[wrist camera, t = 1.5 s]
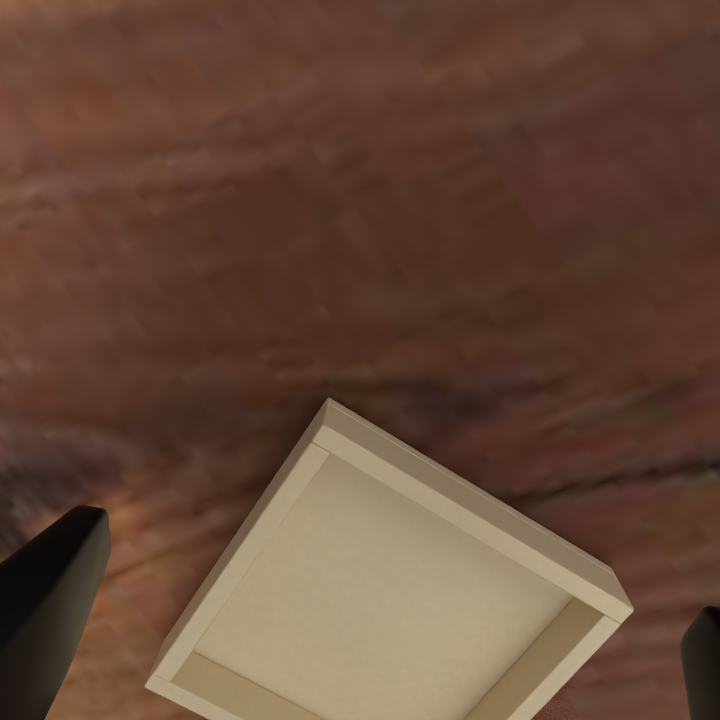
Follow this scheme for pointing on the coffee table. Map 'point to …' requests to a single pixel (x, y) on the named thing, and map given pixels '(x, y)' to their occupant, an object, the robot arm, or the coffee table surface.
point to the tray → (384, 596)
